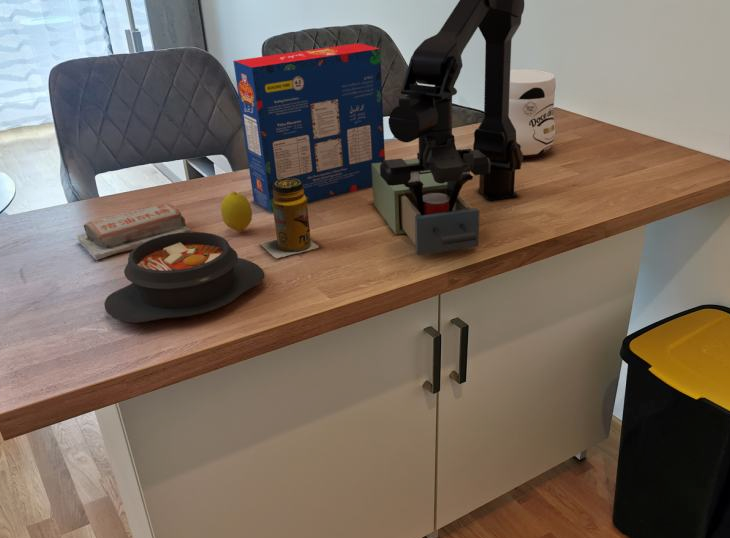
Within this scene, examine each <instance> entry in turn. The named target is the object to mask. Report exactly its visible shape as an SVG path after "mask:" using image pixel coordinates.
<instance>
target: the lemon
mask: <svg viewBox="0 0 730 538" xmlns="http://www.w3.org/2000/svg"><path fill="white" fill-rule="evenodd" d="M220 207H221V208H220V213H221V217H222V220H223V223H224V224H225V225H226V226H227V227H228V228H229V229H231V230H235V231H236V232H238V233H242V231H243V230H245V229H246V228H247V227H249V226H250V224H251V223H252V218H253V210H252V206H251V204H250V202H249V200H248V198H247V197H246V196H245V195H243V194H241V193H239V192H236V191H231V193H229V194H226V196H225V197H224V198H223V199H222V202H221V206H220Z"/></svg>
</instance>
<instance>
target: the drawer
mask: <svg viewBox="0 0 730 538" xmlns="http://www.w3.org/2000/svg"><path fill="white" fill-rule="evenodd" d="M431 193H441V194H446V195H447V188H446V189H439V190H431V191H423V192H422V195H423V196H424V195H426V194H431ZM398 199H399V224H400V226H401V227H402V228H403V230H404V231H405V232H406V233H405V234H406V235H407V236H408V238H409V239H410V241H412V243H413V244H414V246H415V247H414V248H415V254H416V255H417V256H421V255H422V256H423V255H430V254H436V253H442V252H448V251H454V250H463V249H468V248H469V249H470V248H476V247H479V237H480V236H479V235H480V234H479V233H480V231H479V230H480V209H479V208H478V207H475V208H474V207H473V208H471V205H469V204H468V203H467V202H466V201H465V200H464V199H463V198H462V197H461V196H460V194H459V195H458V197H457V199H456V202H455V204H454V207H453V210H452V211H451V212H444V213H436V214H429V215H422V216H421V213H420V212H419V211H418V208H417V206H416V203H415V201H414V198H413V196H412V193H407V194H399V195H398Z"/></svg>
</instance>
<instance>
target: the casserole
mask: <svg viewBox="0 0 730 538" xmlns="http://www.w3.org/2000/svg"><path fill="white" fill-rule="evenodd" d="M123 272H124V273H123V274H124V277H125V278H126V280H128V281H129V282H130V284H128V285H125V286H124V287H122V288H120V289H118V290H116V291H113V292H112V293H110V294H109V295H107V296H106V298H105V300H104V304H103V305H104V310H105V311H106V313H107V314H108V315H109V316H110V317H112V318H113V319H115V320H118V321H120V322H124V323H129V324H142V323H147V322H153V321H158V320H163V319H172V318H185V317H192V316H196V315H201V314H205V313H209V312H211V311H214V310H217V309H219V308H222V307H224V306H226V305H227V304H229V303H231V302H233V301H235V299H237V298H238V297H240V296H241V295H242V294H243V293H245V292H246V291H248V290H250V289H252V288H254V287H256V286H257V285H258V284H261V283H262V282H263V281H264V279H265V272H264V270H263V268H262V267H260V266H259V265H258V264H256V263H255V262H253V261H250V260H248V259H245V258H242V257H241V258H240V257H239V255H238V253H237V251H236V250H235V249H234V248H232V247H231V245H230V243H229V241H228V240H226V238H224V237H222V236H221V235H217V234H215V233H210V232H204V231H203V232H201V231H191V232H184V233H175V234H169V235H165V236H161V237H157V238H154V239H151V240H149V241H147V242H144V243H143V244H141V245H139V246H137V247H136V248H135V249H132V250H131V252H130V253H129V255H128V258H127V264H126V265H125V266H124V271H123Z"/></svg>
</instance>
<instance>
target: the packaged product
mask: <svg viewBox="0 0 730 538" xmlns="http://www.w3.org/2000/svg"><path fill="white" fill-rule="evenodd" d="M83 228H84V231H85V233H83V234H78V235H76V238H77V240H78V242H79V244H80V245H81V246H82V248H84V250H85V251H86V252H87V253H88V254H89V255H90V256H91V257H92V258H94V259H95V260H96V261H99V260H102V259H104V258H107V257H110V256H113V255H116V254H117V255H118V254H120V253H123V252H128V251H133V250H134V249H135V248H136V247H137V246H139V245H141V244H143V243H144V242H147V241H149V240H151V239H154V238H157V237H161V236H165V235H169V234H175V233H184V232H192V229H191V228H189V226H187V225H186V219H185V217H184V216H183V215H182V212H181V210H179V209H178V207H176V206H174V205H173V204H171V203H170V202H164V203H160V204H154V205H151V206H147V207H142V208H138V209H134V210H131V211H126V212H122V213H118V214H114V215H109V216H105V217H101V218H98V219H93V220H90V221H87V222H85V223H84V224H83Z"/></svg>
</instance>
